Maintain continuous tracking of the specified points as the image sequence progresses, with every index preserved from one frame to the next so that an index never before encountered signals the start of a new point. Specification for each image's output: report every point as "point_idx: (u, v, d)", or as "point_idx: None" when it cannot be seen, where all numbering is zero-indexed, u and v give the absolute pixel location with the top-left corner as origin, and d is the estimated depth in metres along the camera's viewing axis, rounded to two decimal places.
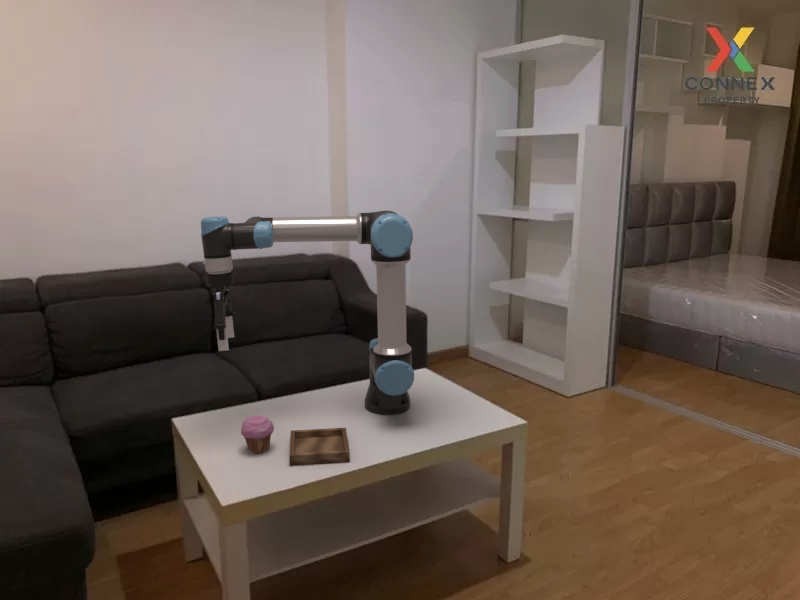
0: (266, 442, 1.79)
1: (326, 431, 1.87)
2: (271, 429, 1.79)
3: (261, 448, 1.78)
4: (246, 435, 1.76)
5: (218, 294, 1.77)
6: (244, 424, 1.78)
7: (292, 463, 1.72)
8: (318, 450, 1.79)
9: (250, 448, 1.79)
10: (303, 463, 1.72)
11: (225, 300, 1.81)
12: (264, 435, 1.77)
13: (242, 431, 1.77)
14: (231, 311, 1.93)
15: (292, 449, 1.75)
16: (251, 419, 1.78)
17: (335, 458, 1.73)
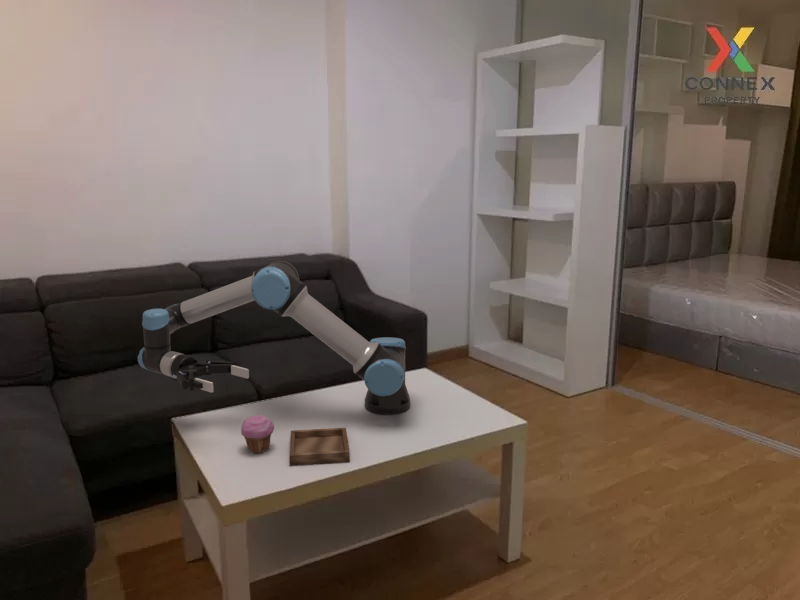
0: (266, 442, 1.79)
1: (326, 431, 1.87)
2: (271, 429, 1.79)
3: (261, 448, 1.78)
4: (246, 435, 1.76)
5: (172, 375, 1.84)
6: (244, 424, 1.78)
7: (292, 463, 1.72)
8: (318, 450, 1.79)
9: (250, 448, 1.79)
10: (303, 463, 1.72)
11: (188, 370, 1.86)
12: (264, 435, 1.77)
13: (242, 431, 1.77)
14: (231, 364, 1.92)
15: (292, 449, 1.75)
16: (251, 419, 1.78)
17: (335, 458, 1.73)
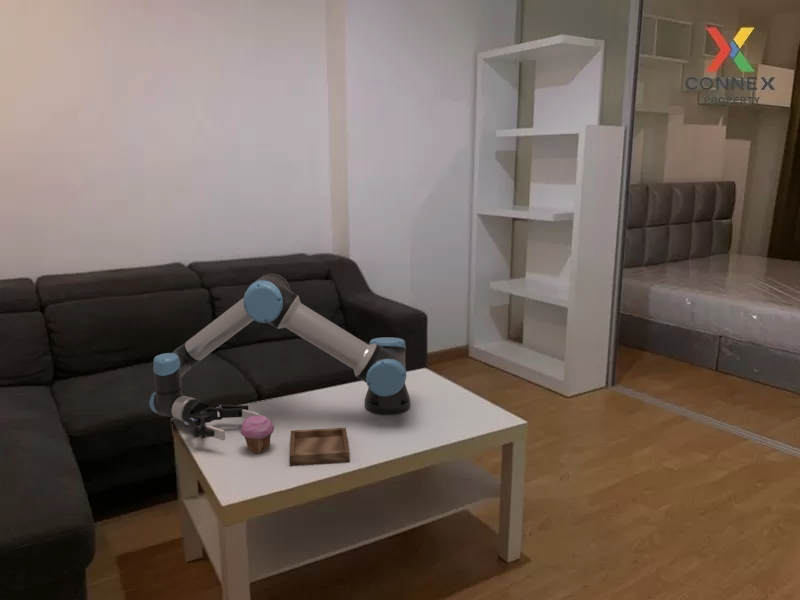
0: (266, 442, 1.79)
1: (326, 431, 1.87)
2: (271, 429, 1.79)
3: (261, 448, 1.78)
4: (246, 435, 1.76)
5: None
6: (244, 424, 1.78)
7: (292, 463, 1.72)
8: (318, 450, 1.79)
9: (250, 448, 1.79)
10: (303, 463, 1.72)
11: (200, 416, 1.86)
12: (264, 435, 1.77)
13: (242, 431, 1.77)
14: (241, 408, 1.93)
15: (292, 449, 1.75)
16: (251, 419, 1.78)
17: (335, 458, 1.73)
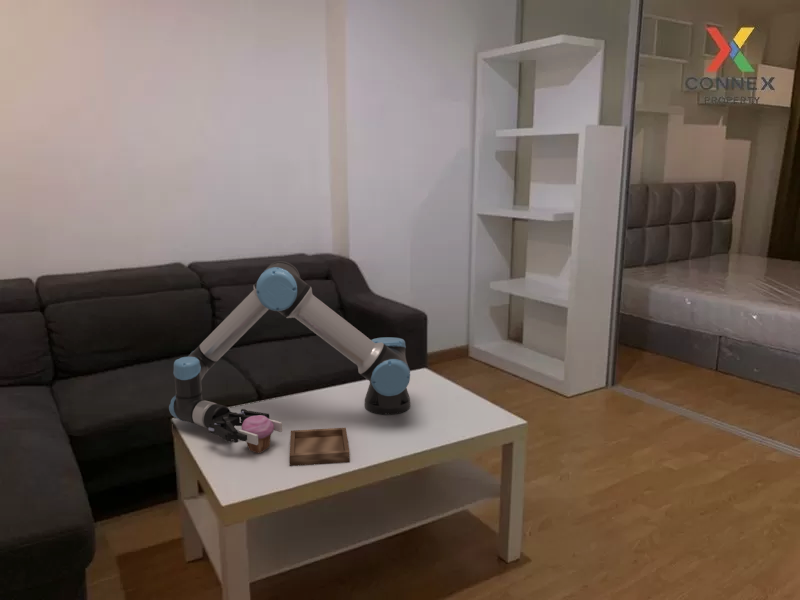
0: (266, 442, 1.79)
1: (326, 431, 1.87)
2: (271, 429, 1.79)
3: (261, 447, 1.78)
4: None
5: (208, 428, 1.80)
6: (244, 424, 1.78)
7: (292, 463, 1.72)
8: (318, 450, 1.79)
9: (250, 448, 1.79)
10: (303, 463, 1.72)
11: (224, 421, 1.82)
12: (264, 435, 1.77)
13: None
14: None
15: (292, 449, 1.75)
16: (251, 419, 1.78)
17: (335, 458, 1.73)
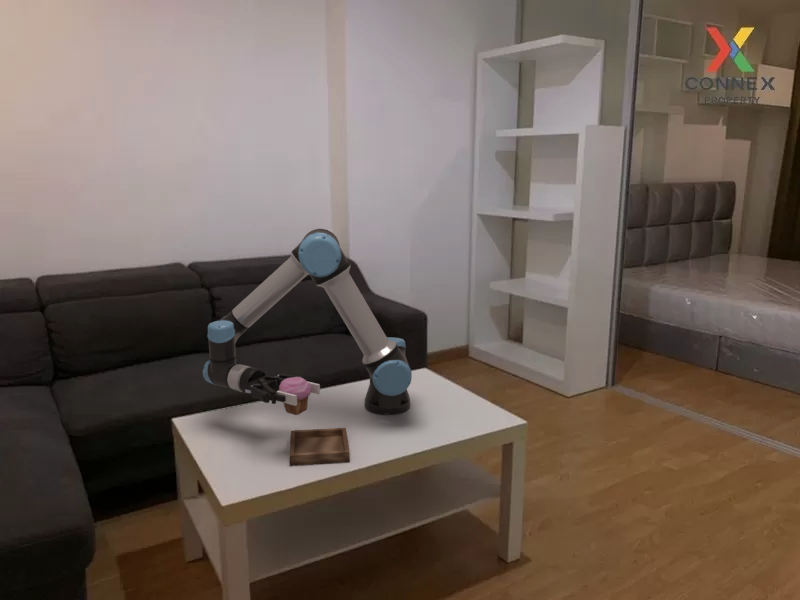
0: (304, 404, 1.76)
1: (326, 431, 1.87)
2: (309, 390, 1.76)
3: (299, 409, 1.75)
4: None
5: (245, 390, 1.77)
6: (282, 385, 1.75)
7: (292, 463, 1.72)
8: (318, 450, 1.79)
9: (288, 410, 1.76)
10: (303, 463, 1.72)
11: (261, 383, 1.79)
12: (302, 396, 1.73)
13: None
14: None
15: (292, 449, 1.75)
16: (289, 380, 1.75)
17: (335, 458, 1.73)
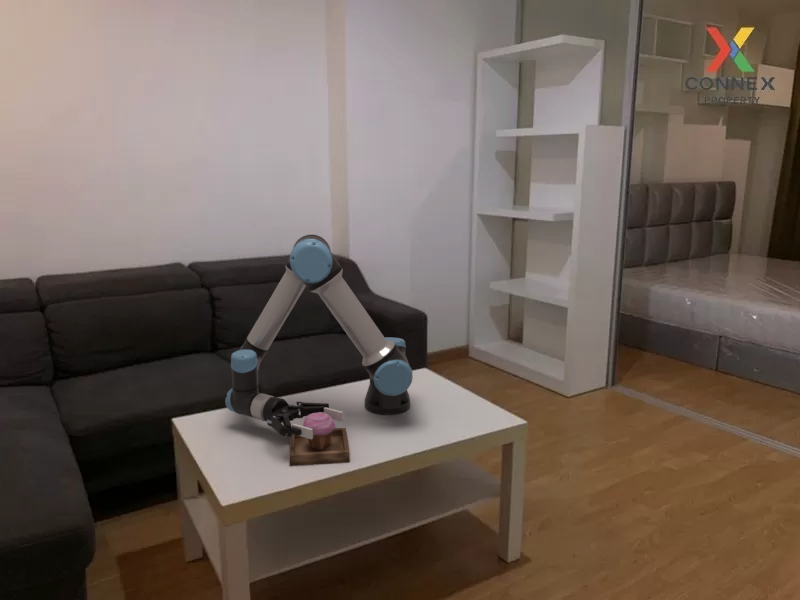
0: (328, 439, 1.79)
1: None
2: (333, 426, 1.78)
3: (323, 444, 1.78)
4: None
5: (267, 420, 1.80)
6: (306, 421, 1.77)
7: (292, 463, 1.72)
8: (318, 450, 1.79)
9: (312, 445, 1.79)
10: (303, 463, 1.72)
11: (282, 414, 1.81)
12: (327, 432, 1.76)
13: None
14: (323, 406, 1.87)
15: (292, 449, 1.75)
16: (313, 416, 1.78)
17: (335, 458, 1.73)
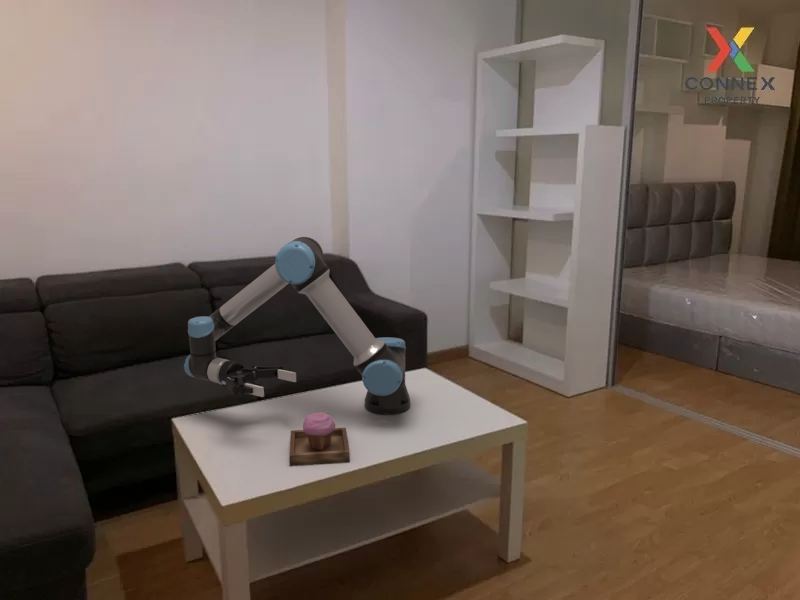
0: (328, 439, 1.79)
1: None
2: (333, 426, 1.78)
3: (323, 445, 1.78)
4: (309, 432, 1.76)
5: (221, 382, 1.86)
6: (306, 421, 1.77)
7: (292, 463, 1.72)
8: (318, 450, 1.79)
9: (312, 445, 1.79)
10: (303, 463, 1.72)
11: (237, 375, 1.88)
12: (327, 432, 1.76)
13: (305, 428, 1.77)
14: (277, 368, 1.94)
15: (292, 449, 1.75)
16: (313, 416, 1.78)
17: (335, 458, 1.73)
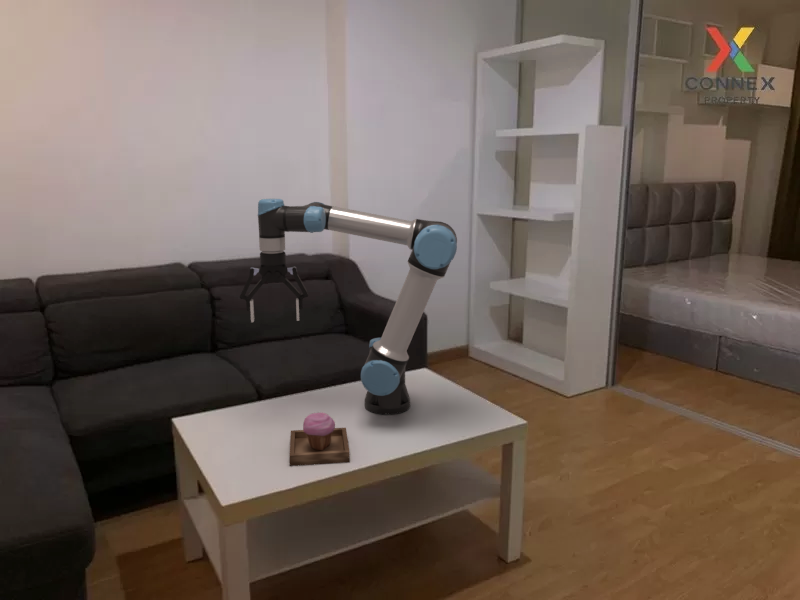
0: (328, 439, 1.79)
1: None
2: (333, 426, 1.78)
3: (323, 445, 1.78)
4: (309, 432, 1.76)
5: (250, 268, 1.91)
6: (306, 421, 1.77)
7: (292, 463, 1.72)
8: (318, 450, 1.79)
9: (312, 445, 1.79)
10: (303, 463, 1.72)
11: (262, 278, 1.91)
12: (327, 432, 1.76)
13: (305, 428, 1.77)
14: (300, 295, 1.94)
15: (292, 449, 1.75)
16: (313, 416, 1.78)
17: (335, 458, 1.73)
